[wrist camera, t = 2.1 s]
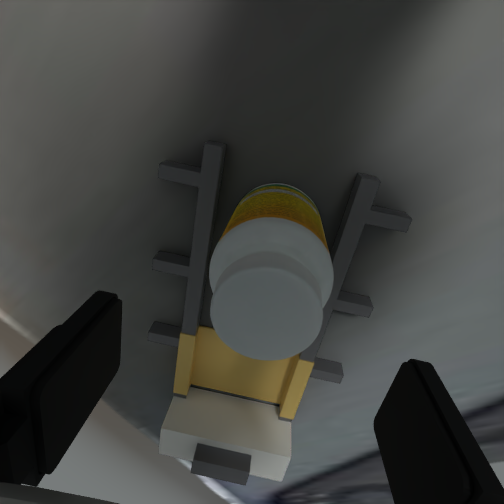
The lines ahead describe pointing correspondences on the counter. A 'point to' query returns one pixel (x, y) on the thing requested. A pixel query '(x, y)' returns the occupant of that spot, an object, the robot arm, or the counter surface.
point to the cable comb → (236, 365)
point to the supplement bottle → (271, 274)
